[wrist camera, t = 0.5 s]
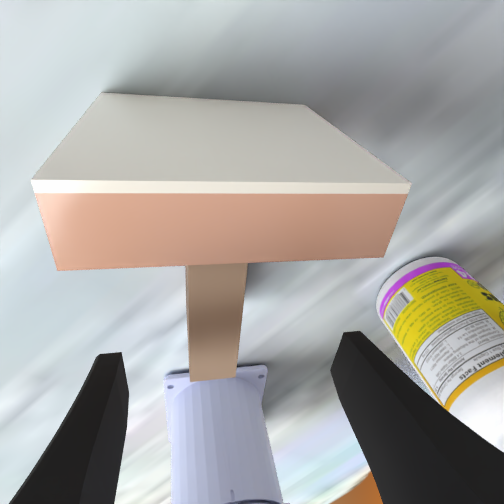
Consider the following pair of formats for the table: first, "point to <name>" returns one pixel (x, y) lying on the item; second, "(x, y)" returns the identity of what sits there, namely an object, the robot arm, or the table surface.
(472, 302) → the supplement bottle
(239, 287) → the bar
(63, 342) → the table surface
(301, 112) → the glazed tile
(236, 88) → the table surface
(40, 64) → the table surface
